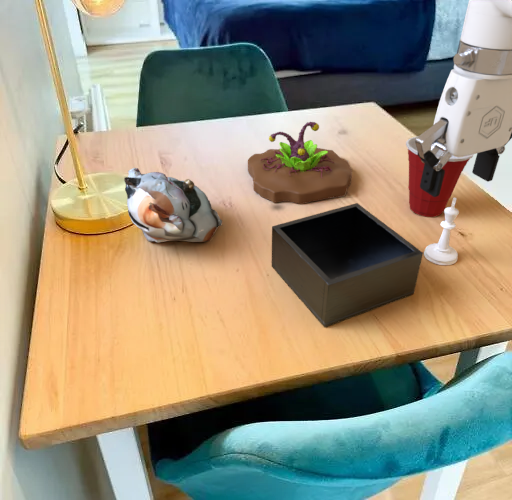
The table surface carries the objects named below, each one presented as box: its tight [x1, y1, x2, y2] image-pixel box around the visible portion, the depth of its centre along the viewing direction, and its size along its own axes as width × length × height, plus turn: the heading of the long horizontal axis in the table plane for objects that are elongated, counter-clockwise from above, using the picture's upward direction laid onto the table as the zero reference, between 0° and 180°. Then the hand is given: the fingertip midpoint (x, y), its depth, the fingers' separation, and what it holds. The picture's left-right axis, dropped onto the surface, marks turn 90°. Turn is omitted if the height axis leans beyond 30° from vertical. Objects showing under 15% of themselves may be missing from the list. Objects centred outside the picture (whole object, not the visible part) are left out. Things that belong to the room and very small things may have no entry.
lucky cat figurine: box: [123, 167, 223, 244], centre depth 79 cm, size 15×12×14 cm
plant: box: [247, 121, 353, 204], centre depth 95 cm, size 20×20×11 cm
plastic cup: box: [405, 135, 475, 218], centre depth 86 cm, size 11×11×12 cm
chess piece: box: [423, 197, 460, 266], centre depth 74 cm, size 5×5×10 cm
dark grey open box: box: [271, 202, 424, 328], centre depth 71 cm, size 15×15×7 cm
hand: (455, 184), depth 71 cm, fingers open, 9 cm apart
